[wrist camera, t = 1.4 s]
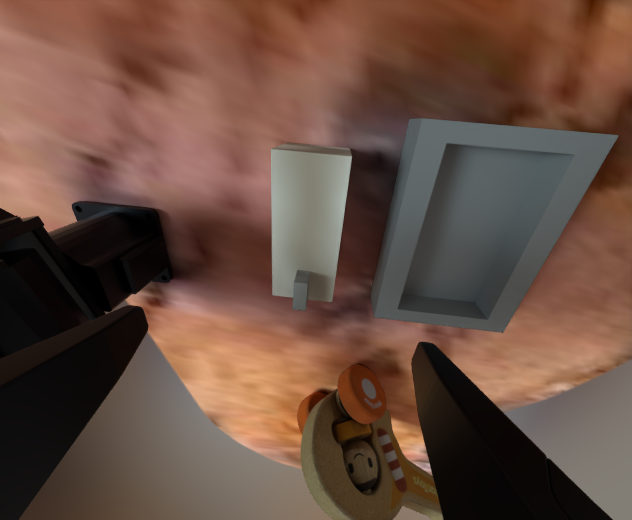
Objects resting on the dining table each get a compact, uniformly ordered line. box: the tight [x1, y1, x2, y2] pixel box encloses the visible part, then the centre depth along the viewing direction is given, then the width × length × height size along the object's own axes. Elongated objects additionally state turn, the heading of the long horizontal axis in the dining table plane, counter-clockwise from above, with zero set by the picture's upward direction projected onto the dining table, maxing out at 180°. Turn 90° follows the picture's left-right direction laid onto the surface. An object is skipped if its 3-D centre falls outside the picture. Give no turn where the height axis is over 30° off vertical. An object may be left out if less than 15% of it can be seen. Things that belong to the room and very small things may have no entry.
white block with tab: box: [271, 142, 352, 311], centre depth 16 cm, size 4×9×6 cm, turn 176°
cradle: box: [370, 118, 619, 333], centre depth 17 cm, size 9×13×3 cm
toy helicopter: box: [297, 365, 443, 520], centre depth 23 cm, size 8×21×14 cm, turn 51°
